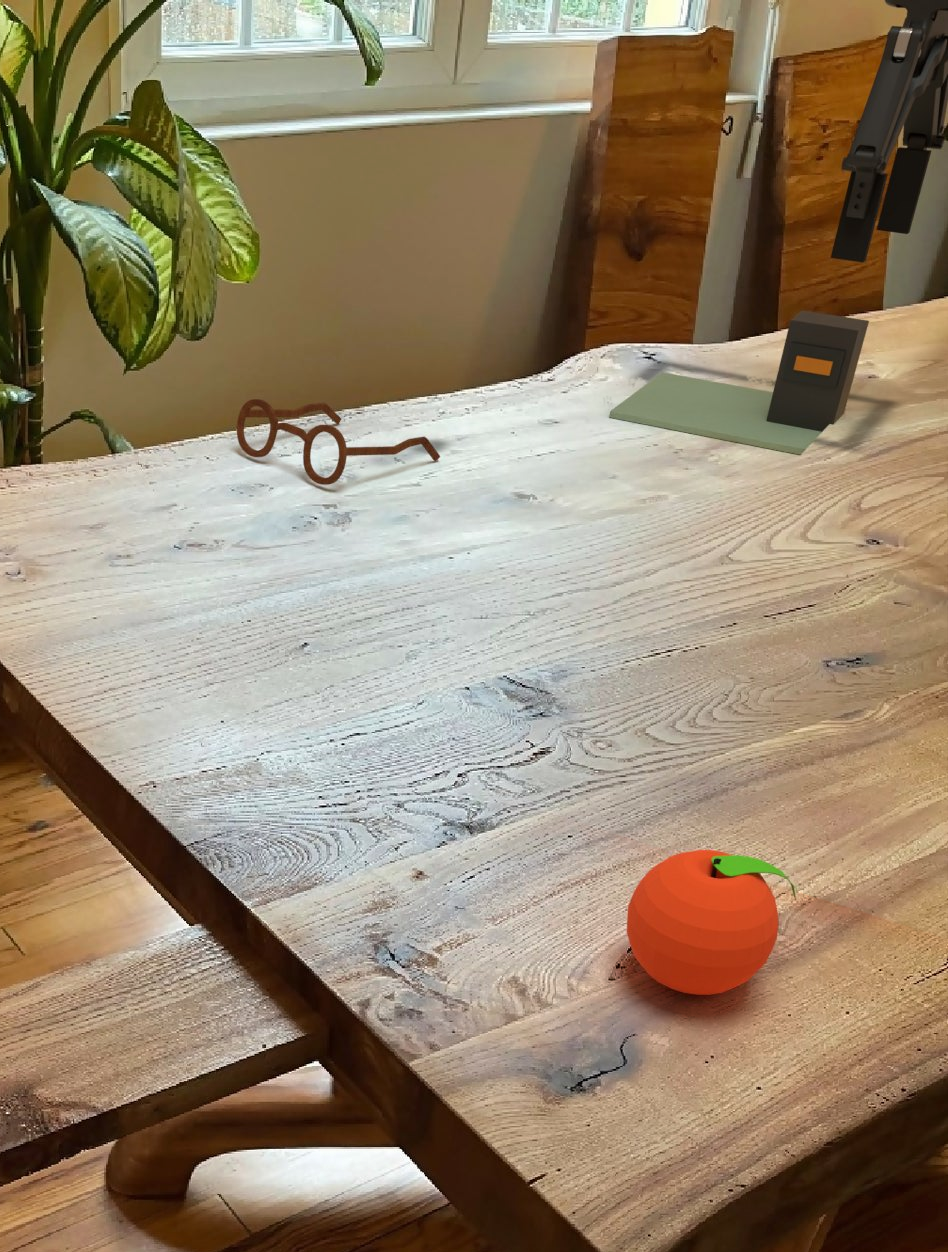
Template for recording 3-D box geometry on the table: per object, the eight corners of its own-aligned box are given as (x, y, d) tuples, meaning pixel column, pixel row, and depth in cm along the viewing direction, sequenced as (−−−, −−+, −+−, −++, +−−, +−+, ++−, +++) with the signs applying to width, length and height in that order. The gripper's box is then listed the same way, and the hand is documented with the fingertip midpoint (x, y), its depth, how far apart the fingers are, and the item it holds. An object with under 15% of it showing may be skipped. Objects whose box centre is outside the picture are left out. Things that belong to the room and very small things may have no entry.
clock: (841, 422, 138) (869, 320, 132) (829, 434, 135) (857, 331, 129) (777, 410, 140) (802, 310, 135) (764, 422, 137) (789, 320, 132)
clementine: (742, 929, 75) (777, 812, 71) (804, 1016, 70) (846, 895, 66) (593, 942, 74) (619, 823, 70) (645, 1031, 69) (677, 908, 65)
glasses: (232, 453, 130) (233, 395, 127) (338, 423, 137) (341, 367, 134) (336, 496, 122) (340, 435, 119) (442, 461, 129) (449, 403, 126)
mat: (883, 418, 141) (885, 412, 140) (844, 463, 131) (846, 456, 130) (660, 378, 150) (662, 372, 149) (608, 417, 140) (609, 411, 139)
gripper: (938, -62, 124) (868, 215, 137) (851, -48, 108) (781, 265, 121) (1033, -58, 121) (952, 226, 134) (958, -42, 104) (874, 279, 117)
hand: (871, 245), depth 127 cm, fingers open, 13 cm apart
